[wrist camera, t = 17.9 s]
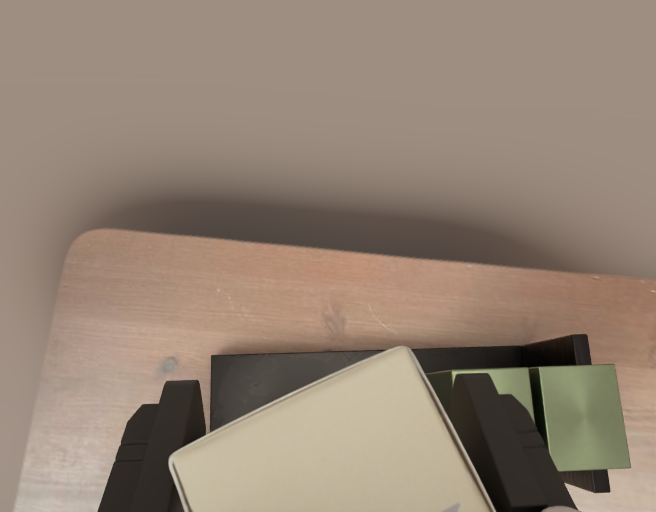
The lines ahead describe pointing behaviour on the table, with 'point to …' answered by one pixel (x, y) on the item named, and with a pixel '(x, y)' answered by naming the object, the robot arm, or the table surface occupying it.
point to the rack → (440, 369)
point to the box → (337, 449)
